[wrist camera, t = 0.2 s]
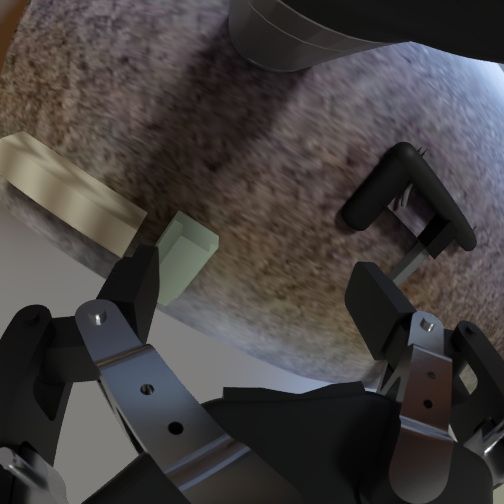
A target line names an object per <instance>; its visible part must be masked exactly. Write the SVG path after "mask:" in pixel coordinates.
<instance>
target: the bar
mask: <svg viewBox="0 0 504 504" xmlns="http://www.w3.org/2000/svg"><path fill="white" fill-rule="evenodd" d="M0 175H1V176H2V177H4V178H5V179H6V180H7V181H9V182H10V183H11V184H13V185H14V186H15V187H17V188H18V189H19V190H21V191H22V192H23V193H25V194H26V195H28V196H29V197H30V198H32V199H33V200H34V201H36V202H37V203H39V204H40V205H41V206H43V207H44V208H46V209H47V210H49V211H50V212H51V213H53V214H54V215H56V216H57V217H59V218H60V219H62V220H63V221H65V222H66V223H68V224H69V225H71V226H72V227H74V228H75V229H77V230H78V231H80V232H81V233H83V234H84V235H86V236H87V237H89V238H90V239H92V240H94V241H95V242H97V243H98V244H100V245H101V246H103V247H105V248H106V249H108V250H109V251H111V252H113V253H114V254H116V255H117V256H119V257H121V258H122V256H123V255H124V253H125V251H126V249H127V248H128V246H129V244H130V242H131V241H132V239H133V237H134V235H135V234H136V232H137V230H138V229H139V227H140V225H141V223H142V222H143V220H144V218H145V217H146V215H147V212H146V211H144V210H143V209H141V208H139V207H138V206H136V205H135V204H133V203H132V202H130V201H128V200H127V199H125V198H124V197H122V196H121V195H119V194H118V193H116V192H115V191H113V190H111V189H110V188H108V187H107V186H105V185H104V184H102V183H101V182H99V181H98V180H96V179H95V178H93V177H91V176H90V175H88V174H87V173H85V172H84V171H82V170H81V169H79V168H78V167H76V166H75V165H73V164H72V163H70V162H69V161H67V160H66V159H64V158H63V157H61V156H60V155H58V154H57V153H55V152H54V151H52V150H51V149H49V148H48V147H46V146H45V145H43V144H42V143H40V142H39V141H38V140H36V139H35V138H33V137H32V136H30V135H29V134H27V133H26V132H24V131H22V132H19V133H16V134H13V135H10V136H7V137H4V138H1V139H0Z"/></svg>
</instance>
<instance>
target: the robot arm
mask: <svg viewBox="0 0 504 504" xmlns="http://www.w3.org/2000/svg"><path fill="white" fill-rule="evenodd" d="M228 32H229V36H230V40H231V42H232V44H233V46H234V48H235V50H236V51H237V52H238V53H239V54H240V56H241V57H242V58H244V59H245V60H246V61H247V62H249V63H250V64H252V65H254V66H256V67H258V68H260V69H263V70H266V71H270V72H277V73H289V72H294V71H298V70H302V69H305V68H308V67H311V66H314V65H317V64H320V63H323V62H327V61H330V60H333V59H337V58H340V57H343V56H347V55H351V54H354V53H358V52H362V51H366V50H370V49H374V48H378V47H382V46H387V45H392V44H397V43H402V42H409V41H412V42H416V43H419V44H423V45H426V46H429V47H432V48H435V49H438V50H441V51H445V52H448V53H452V54H455V55H459V56H463V57H467V58H472V59H477V60H483V61H489V62H495V63H502V64H504V0H230V7H229V27H228ZM159 289H160V274H159V249H158V247H157V246H145V245H139V246H138V248H137V249H136V251H135V253H134V255H133V257H124V258H123V259H121V260H120V261H118V262H117V263H116V264H115V266H114V267H113V269H112V272H111V273H110V274H109V276H108V279H107V280H106V281H105V283H104V285H103V287H102V289H101V290H100V292H99V294H98V296H97V298H96V300H91V301H88V302H86V303H84V304H82V305H81V306H80V307H79V308H78V309H77V311H76V313H75V316H70V317H61V318H60V317H59V318H52V316H51V313H50V311H49V309H47V307H45V306H43V305H30V306H26V307H24V308H22V309H21V310H19V311H18V312H17V313H16V315H15V316H14V317H13V319H12V321H11V322H10V324H9V325H8V327H7V329H6V330H5V332H4V334H3V335H2V337H1V339H0V504H69V503H68V501H67V497H66V487H65V483H64V480H63V478H62V477H61V475H60V474H59V473H58V472H57V471H56V470H55V469H54V468H53V464H54V459H55V454H56V449H57V444H58V439H59V435H60V430H61V426H62V422H63V418H64V414H65V410H66V406H67V403H68V399H69V396H70V392H71V388H72V385H73V382H85V381H94V380H96V381H97V383H98V385H99V387H100V389H101V391H102V393H103V395H104V397H105V399H106V400H107V402H108V404H109V406H110V408H111V410H112V412H113V413H114V415H115V417H116V419H117V421H118V422H119V424H120V426H121V428H122V430H123V431H124V433H125V435H126V437H127V438H128V440H129V442H130V443H131V445H132V447H133V448H134V450H135V451H136V453H137V454H138V457H137V458H135V459H134V460H133V461H132V462H131V463H130V464H129V465H127V466H126V467H125V468H124V469H123V470H122V471H120V472H119V473H118V474H117V475H116V476H115V477H114V478H112V479H111V480H110V481H108V482H107V483H106V484H105V485H104V486H102V487H101V488H100V489H99V490H97V491H96V492H95V493H94V494H92V495H91V496H90V497H89V498H87V499H86V500H85V501H84V502H83V503H81V504H493V490H494V489H496V488H497V487H499V486H500V485H502V484H503V483H504V360H503V359H502V358H501V356H500V355H499V353H498V352H497V351H496V349H495V348H494V347H493V345H492V344H491V343H490V341H489V340H488V339H487V337H486V336H485V335H484V334H483V332H482V331H481V330H480V329H479V328H478V327H477V326H476V325H475V324H473V323H471V322H469V321H465V320H462V321H459V323H458V324H457V326H456V328H455V330H448V329H443V325H442V323H441V322H440V321H439V320H438V319H437V318H436V317H435V316H433V315H431V314H429V313H426V312H417V311H416V309H415V308H414V307H413V305H412V304H411V303H410V302H409V300H408V299H407V298H406V297H405V295H403V293H402V292H401V291H400V289H398V287H397V286H396V284H395V283H394V282H393V281H392V280H391V279H389V278H388V277H387V276H385V275H384V273H383V272H382V271H381V270H380V269H379V267H378V266H377V265H376V264H375V263H372V262H357V263H356V264H355V266H354V269H353V272H352V275H351V278H350V281H349V284H348V287H347V290H346V293H345V305H346V307H347V309H348V311H349V313H350V315H351V317H352V318H353V320H354V322H355V324H356V326H357V328H358V330H359V331H360V333H361V335H362V337H363V339H364V341H365V343H366V345H367V347H368V349H369V351H370V352H371V354H372V356H373V358H374V360H384V359H387V361H388V362H387V363H386V365H385V367H384V369H383V372H382V376H381V379H380V382H379V385H378V388H377V391H376V393H375V392H370V391H365V389H364V386H363V384H362V382H361V381H358V382H349V383H339V384H331V385H328V386H325V387H322V388H319V389H316V390H312V391H309V392H306V393H302V394H294V393H288V392H282V391H276V390H270V389H265V388H237V387H223V396H222V398H218V399H214V400H210V401H208V402H205V403H202V404H199V403H198V401H197V400H196V399H195V398H194V397H193V396H192V395H191V393H190V392H189V391H188V390H187V389H186V387H185V386H184V385H183V384H182V383H181V381H180V380H179V379H178V378H177V377H176V375H175V374H174V373H173V372H172V370H171V369H170V368H169V367H168V365H167V364H166V363H165V361H164V360H163V359H162V358H161V356H160V355H159V354H158V352H157V351H156V350H155V348H154V347H153V346H152V345H151V344H146V342H147V338H148V333H149V330H150V326H151V322H152V318H153V315H154V311H155V307H156V304H157V300H158V297H159ZM467 364H469V365H470V367H471V368H472V370H473V371H474V373H475V374H476V376H477V379H478V384H477V387H476V389H475V390H474V391H473V392H472V394H471V395H470V394H469V392H468V390H467V389H466V387H465V385H464V383H463V382H462V380H461V378H460V377H459V375H460V373H461V372H462V371H463V369H464V368H465V367H466V365H467ZM449 424H450V427H451V429H452V431H453V433H454V435H455V438H456V440H457V441H455V440H453V439H452V437H451V436H450V435H449V433H448V430H449Z"/></svg>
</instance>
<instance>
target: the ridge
mask: <svg viewBox="0 0 504 504" xmlns="http://www.w3.org/2000/svg"><path fill="white" fill-rule="evenodd" d="M218 241H219V236H218V235H216V234H215V233H213V232H212V231H210V230H209V229H207V228H205V227H204V226H202V225H201V224H199V223H198V222H196V221H195V220H193V219H192V218H190V217H189V216H187V215H186V214H184V213H182V212H181V211H179V210H178V212H177V213H176V215H175V216H174V217H173V219H172V220H171V222H170V223H169V225H168V226H167V228H166V229H165V231H164V232H163V234H162V235H161V236H160V238H159V239H158V241H157V243H156V244H155V246H157V247H158V249H159V274H160V289H159V297H158V300H157V303H159V304H161V305H163V306H165V307H167V305H168V304H169V303H170V301H171V300H172V299H173V298H174V299H176V300H177V298H178V297H179V296H180V295H181V293H182V292H183V291H184V290H185V288H186V287H187V286H188V285H189V283H190V282H191V281H192V280H193V278H194V277H195V276H196V275H197V273H198V272H199V271H200V270H201V268H202V267H203V266H204V265H205V263H206V262H207V261H208V260H209V258H210V257H211V256H212V255H213V254H214V252H215V251H216V250H217V249H218Z"/></svg>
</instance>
